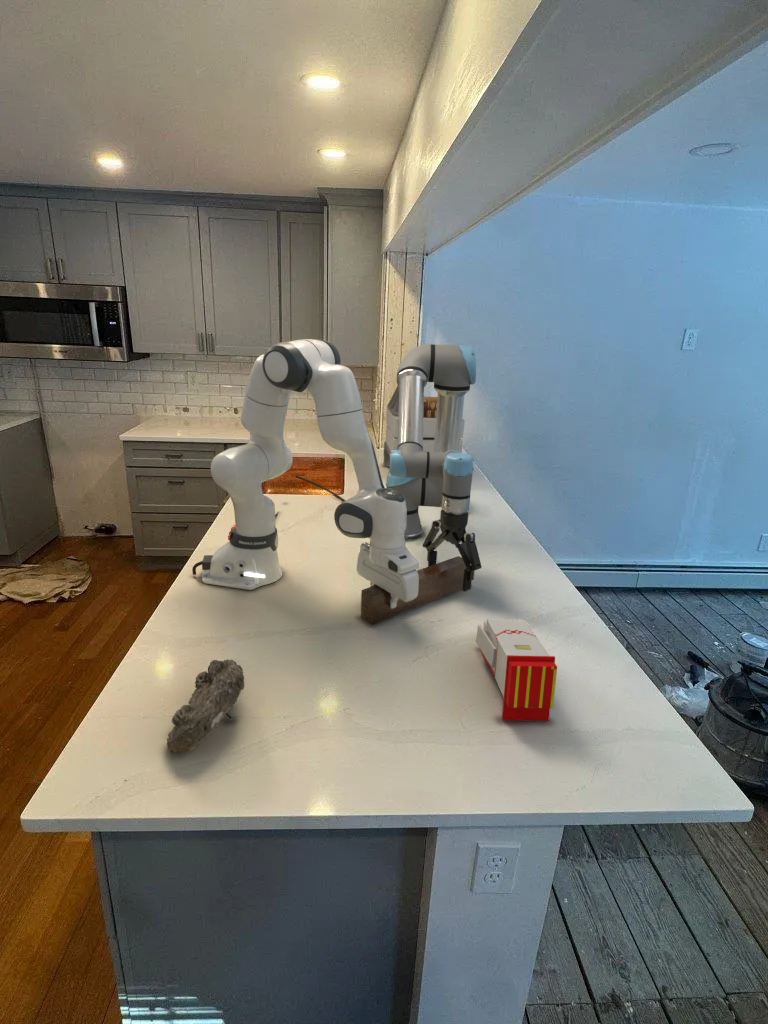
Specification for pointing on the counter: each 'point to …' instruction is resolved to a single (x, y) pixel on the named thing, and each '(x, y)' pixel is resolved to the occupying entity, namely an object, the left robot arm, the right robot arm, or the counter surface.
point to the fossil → (206, 705)
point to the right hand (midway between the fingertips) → (448, 580)
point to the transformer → (428, 425)
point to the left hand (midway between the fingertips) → (384, 602)
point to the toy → (519, 668)
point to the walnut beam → (431, 587)
